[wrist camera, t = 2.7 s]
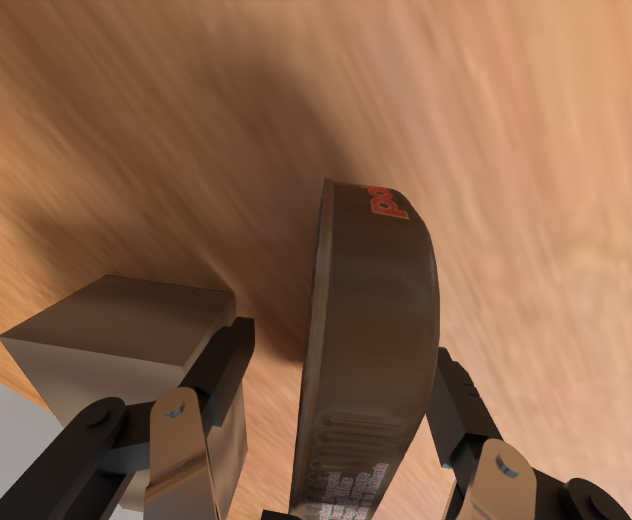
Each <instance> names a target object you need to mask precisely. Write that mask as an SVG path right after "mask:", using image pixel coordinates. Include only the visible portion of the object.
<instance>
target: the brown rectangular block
mask: <svg viewBox="0 0 632 520" xmlns="http://www.w3.org/2000/svg"><path fill="white" fill-rule="evenodd" d="M235 319H236V305H235V294H234V293H227V292H220V291H213V290H206V289H199V288H192V287H185V286H178V285H171V284H164V283H157V282H150V281H143V280H136V279H129V278H122V277H115V276H108V275H105V276H103V277H101V278H100V279H98V280H96V281H94V282H93V283H91V284H89V285H87V286H86V287H84V288H82V289H80V290H78V291H77V292H75V293H73V294H71V295H70V296H68V297H66V298H64V299H63V300H61V301H59V302H57V303H56V304H54V305H52V306H50V307H49V308H47V309H45V310H43V311H41V312H40V313H38V314H36V315H34V316H33V317H31V318H29V319H27V320H26V321H24V322H22V323H20V324H19V325H17V326H15V327H13V328H11V329H10V330H8V331H6V332H4V333H3V334H1V335H0V341H1V342H2V344H3V345H4V346H5V348H6V349H7V351H8V352H9V353H10V355H11V356H12V357H13V359H14V360H15V362H16V363H17V364H18V366H19V367H20V368H21V370H22V371H23V373H24V374H25V375H26V377H27V378H28V379H29V381H30V382H31V384H32V385H33V386H34V388H35V389H36V390H37V392H38V393H39V394H40V396H41V397H42V399H43V400H44V401H45V403H46V404H47V405H48V407H49V408H50V410H51V411H52V412H53V414H54V415H55V416H56V418H57V419H58V421H59V422H60V423H61V425H62V426H63V427H64V428H65V427H66V426H67V425H68V424H69V423H70V422H71V421H72V420H73V419H74V417H75V416H76V415H77V414H78V413H79V412H80V411H82V410H83V409H84V408H85V407H87V406H88V405H90V404H92V403H93V402H95V401H97V400H100V399H103V398H106V397H119V398H121V399H122V400H123V401H124V402H125V405H133V404H139V403H145V402H151V401H155V400H158V399H159V398H160V397H161V396H162V395H164V394H165V393H167V392H168V391H170V390H172V389H175V388H177V387H178V386H179V385H180V383H181V382H182V380H183V379H184V377H185V376H186V374H187V373H188V372H189V370H190V369H191V367H192V366H193V364H194V363H195V361H196V360H197V358H198V357H199V355H200V354H201V353H202V352H203V349H204V348H205V346H206V345H207V344H208V342H209V340H210V339H211V337H212V336H213V334H214V333H215V332H217V331H218V330H219V329H221V328H222V327H223V326H228V327H231V325H232V324H233V322H234V320H235ZM207 442H208V448H209V454H210V460H211V465H212V471H213V477H214V483H215V489H216V494H217V500H218V505H219V510H220V515H221V520H226V518H227V515H228V512H229V509H230V505H231V502H232V499H233V496H234V493H235V489H236V486H237V483H238V480H239V477H240V473H241V470H242V467H243V464H244V461H245V457H246V454H247V451H248V448H247V436H246V425H245V413H244V401H243V389H242V380H241V383H240V385H239V387H238V390H237V392H236V394H235V397H234V399H233V401H232V403H231V406H230V408H229V410H228V413H227V415H226V417H225V420H224V422H223V424H222V427H216V426H212V428H211V431H210V433H209V435H208V437H207ZM149 481H150V469H146V470H141V471H137V472H136V473H135V475H134V477H133V478H132V480H131V482H130V484H129V485H128V487H127V489H126V491H125V492H124V494H123V496H122V497H121V499H120V501H119V504H120V506H121V507H122V508H124V509H129V510H134V511H139V512H144V494H145V489H146V487H147V486H148V485H149Z"/></svg>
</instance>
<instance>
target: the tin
mask: <svg viewBox="0 0 632 520" xmlns="http://www.w3.org/2000/svg"><path fill="white" fill-rule="evenodd" d="M439 338H440V293H439V283H438V274H437V265H436V260H435V255H434V250H433V245H432V241H431V238H430V234H429V232H428V230H427V227H426V225H425V223H424V221H423V220H422V219H421V217H420V216H419V215H418V213H417V212H416V211H415V209H414V208H413V207H412V205H411V204H410V202H409V201H408V200H407V198H406V197H405V196H403V195H402V194H401V193H400V192H398V191H396V190H393V189H389V188H383V187H375V186H364V185H355V184H346V183H338V182H334V181H333V180H332V179H331V178H329V177H327V178H325V179H324V188H323V193H322V199H321V204H320V210H319V221H318V230H317V241H316V249H315V258H314V267H313V276H312V286H311V295H310V304H309V313H308V322H307V331H306V340H305V350H304V363H303V370H302V380H301V391H300V401H299V413H298V425H297V435H296V443H295V453H294V463H293V474H292V483H291V492H290V501H289V511H288V514H289V515H294V516H297V517H299V518H301V519H302V520H371V519H372V517H373V516H374V514H375V511H376V510H377V508H378V506H379V504H380V502H381V500H382V498H383V496H384V494H385V492H386V490H387V488H388V487H389V485H390V483H391V481H392V479H393V477H394V475H395V473H396V471H397V469H398V467H399V465H400V463H401V462H402V460H403V458H404V456H405V453H406V452H407V450H408V448H409V446H410V444H411V442H412V441H413V439H414V437H415V434H416V432H417V430H418V428H419V426H420V424H421V421H422V419H423V417H424V415H425V412H426V408H427V405H428V401H429V398H430V395H431V391H432V387H433V382H434V377H435V371H436V365H437V356H438V347H439Z"/></svg>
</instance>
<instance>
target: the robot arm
mask: <svg viewBox="0 0 632 520" xmlns="http://www.w3.org/2000/svg"><path fill="white" fill-rule="evenodd" d="M254 347H255V325H254V319H253V318H246V317H239V316H238V317H236V319H235V320H234V322H233V324H232V325H231V327H228V326H223V327H222V328H221V329H219V330H218V331H217V332H215V333H214V334H213V336H212V337H211V339H210V340H209V342H208V344H207V345H206V346H205V348H204V349H203V352H202V353H201V354H200V355H199V357H198V358H197V360H196V361H195V363H194V364H193V366H192V367H191V369H190V370H189V372H188V373H187V374H186V376H185V377H184V379H183V380H182V382H181V383H180V385H179V386H178V387H177V388H175V389H172V390H170V391H168V392H167V393H165V394H164V395H162V396H161V397H160V398H159V399H158V400H155V401H151V402H145V403H139V404H133V405H125V402H124V401H123V400H122V399H121V398H119V397H106V398H103V399H100V400H97V401H95V402H93V403H92V404H90V405H88V406H87V407H85V408H84V409H83V410H82V411H80V412H79V413H78V414H77V415H76V416H75V417H74V419H73V420H72V421H71V422H70V423H69V424H68V425H67V426H66V427H65V428H64V430H63V431H62V432H61V433H60V434H59V435H58V436H57V437H56V438H55V439H54V441H53V442H52V443H51V444H50V445H49V446H48V447H47V448H46V449H45V451H44V452H43V453H42V454H41V455H40V456H39V457H38V458H37V459H36V460H35V461H34V463H33V464H32V465H31V466H30V467H29V468H28V469H27V470H26V471H25V472H24V474H23V475H22V476H21V477H20V478H19V479H18V480H17V481H16V483H14V485H13V486H12V487H11V488H10V489H9V490H8V491H7V492H6V493H5V494H4V496H3V497H2V498H1V499H0V520H109V518H110V517H111V515H112V513H113V511H114V509H115V508H116V506H117V504H118V503H119V501H120V499H121V497H122V496H123V494H124V492H125V491H126V489H127V487H128V485H129V484H130V482H131V480H132V478H133V477H134V475H135V473H136V472H137V471H141V470H146V469H150V481H149V485H148V486H147V487H146V489H145V494H144V515H143V516H144V517H143V518H144V519H143V520H221V515H220V510H219V505H218V500H217V494H216V489H215V483H214V477H213V471H212V465H211V460H210V454H209V448H208V442H207V437H208V435H209V433H210V431H211V428H212V426H216V427H222V424H223V422H224V420H225V417H226V415H227V413H228V410H229V408H230V406H231V403H232V401H233V399H234V397H235V394H236V392H237V390H238V387H239V385H240V383H241V380H242V378H243V376H244V373H245V371H246V369H247V366H248V364H249V362H250V359H251V357H252V355H253V351H254ZM425 413H426V417H427V420H428V423H429V427H430V430H431V434H432V437H433V440H434V444H435V447H436V451H437V454H438V457H439V461H440V464H441V467H442V468H448V469H453V471H454V474H455V477H456V479H455V480H454V482H453V485H452V489H451V492H450V495H449V498H448V501H447V504H446V507H445V510H444V513H443V516H442V520H632V519H631V518H630V517H629V515H628V514H627V513H626V511H625V510H624V509H623V508H622V507H621V506H620V504H619V503H618V502H617V501H616V500H615V499H613V498H612V497H611V496H610V495H609V494H608V493H607V492H605V491H604V490H603V489H601V488H600V487H598V486H597V485H595V484H593V483H592V482H589V481H587V480H585V479H581V478H573V479H571V480H570V481H568V482H567V483H566V484H565V483H563V482H561V481H559V480H557V479H555V478H553V477H551V476H549V475H547V474H545V473H542V472H540V471H538V470H536V469H534V468H533V467H531V466H530V464H529V463H528V461H527V460H526V459H525V458H524V457H523V455H522V454H521V453H520V452H518V451H517V450H516V449H515V448H514V447H512V446H511V445H509V444H508V443H506V442H504V440H503V438H502V436H501V435H500V433H499V431H498V429H497V427H496V425H495V423H494V421H493V419H492V418H491V416H490V414H489V412H488V410H487V408H486V406H485V404H484V402H483V400H482V399H481V398H480V395H479V393H478V391H477V389H476V387H474V383H473V381H472V380H471V378H470V376H469V374H468V372H467V371H466V370H465V369H464V368H463V367H462V366H461V365H460V364H459V363H458V362H456V361H452V359H451V357H450V355H449V353H448V351H447V349H446V348H444V347H438V356H437V365H436V371H435V377H434V382H433V387H432V391H431V395H430V398H429V401H428V405H427V408H426V412H425ZM261 520H302V519H301V518H299V517H297V516H294V515H289V514H284V513H279V512H274V511H268V510H263V512H262V517H261Z"/></svg>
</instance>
